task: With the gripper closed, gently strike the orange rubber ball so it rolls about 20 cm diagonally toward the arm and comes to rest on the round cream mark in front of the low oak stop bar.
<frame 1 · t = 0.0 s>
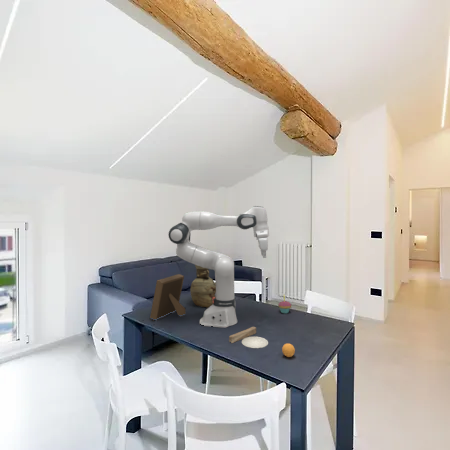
hand: (263, 256, 169), 39 cm above the table, tool pointing down, fingers open, 8 cm apart
ball: (288, 350, 128), on the table
ceramic vessel: (204, 304, 207), on the table
cupcake: (284, 312, 188), on the table
photo frame: (170, 316, 182), on the table
stop bar: (243, 337, 149), on the table
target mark: (254, 342, 143), on the table
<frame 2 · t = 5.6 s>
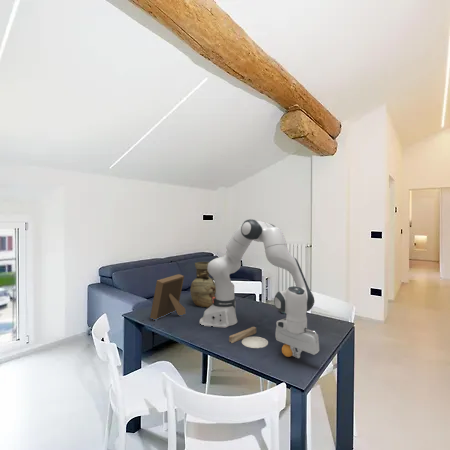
hand: (296, 356, 125), 1 cm above the table, tool pointing down, fingers closed
ball: (288, 350, 128), on the table, touching gripper
everything else where it was.
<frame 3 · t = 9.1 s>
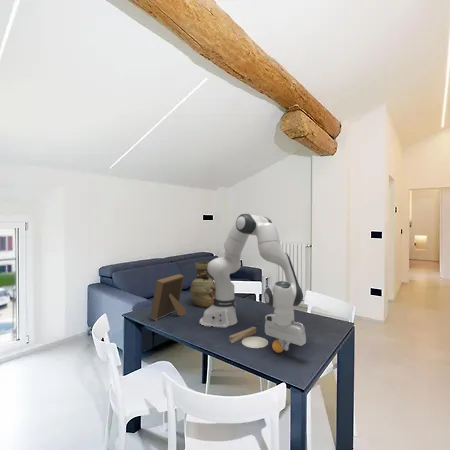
hand: (285, 349, 129), 2 cm above the table, tool pointing down, fingers closed
ball: (278, 346, 132), on the table, touching gripper
everything else where it was.
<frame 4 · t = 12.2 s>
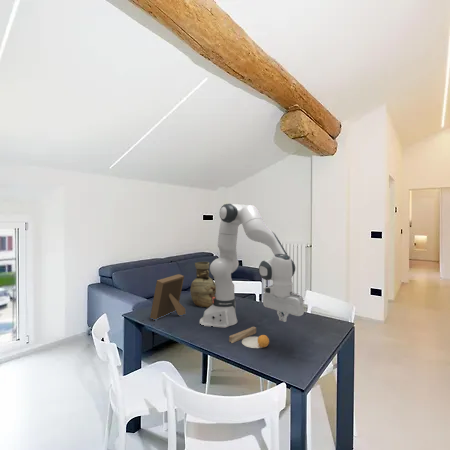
hand: (282, 320, 130), 15 cm above the table, tool pointing down, fingers closed
ball: (263, 341, 138), on the table
everything else where it was.
at the end: ball 6.1 cm from the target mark (horizontally); ball at rest at the end (0.0 cm/s); ball moved 13.9 cm from its start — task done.
